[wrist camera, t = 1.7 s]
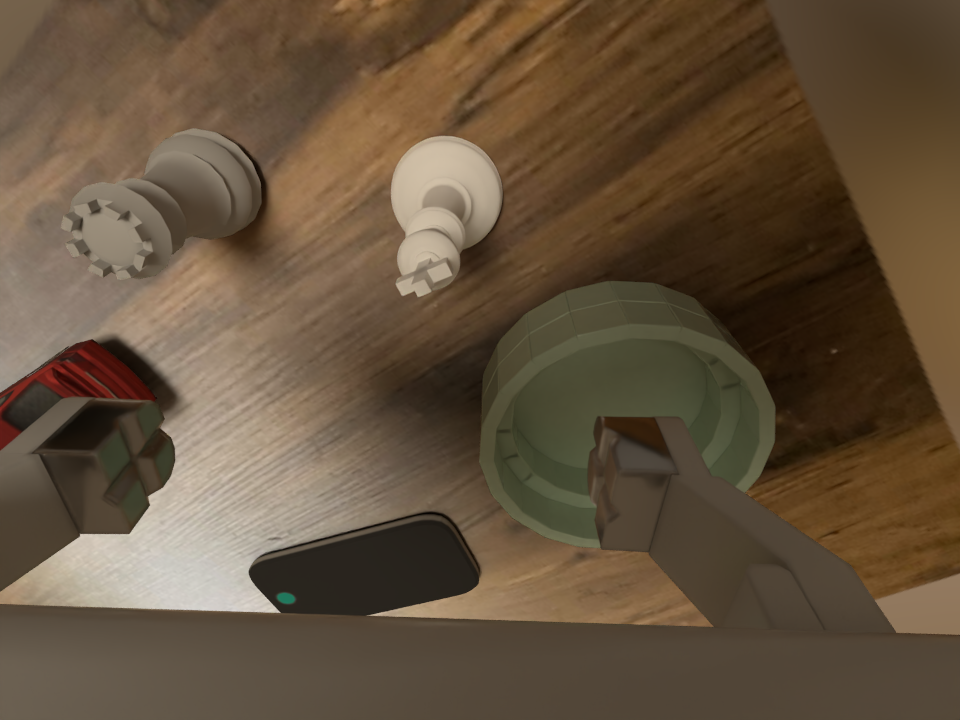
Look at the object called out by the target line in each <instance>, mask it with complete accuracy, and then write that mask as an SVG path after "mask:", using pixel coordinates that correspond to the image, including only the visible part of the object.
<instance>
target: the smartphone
mask: <svg viewBox="0 0 960 720" xmlns="http://www.w3.org/2000/svg"><path fill="white" fill-rule="evenodd" d="M249 576H250V578H251V580H252V582H253V583H254V584H255V586H256V587H257V588H258V589H259V590H260V591H261V592H262V593H263V594H264V595H265V597H266V598H267V599H268V600H269V601H270V602H271V603H272V604H273V605H274V606H275V607H276V608H277V609H278V610H279V611H280V612H281V613H295V614H326V615H357V616H367V615H371V614H376V613H380V612H385V611H389V610H394V609H398V608H403V607H407V606H412V605H416V604H421V603H425V602H430V601H434V600H439V599H443V598H448V597H452V596H457V595H461V594H464V593H467V592H469V591H471V590H472V589H473V588H475V587H476V586H477V585H478V583H479V570H478V567H477V565H476V563H475V561H474V560H473V558H472V556H471V554H470V553H469V551H468V549H467V548H466V546H465V544H464V543H463V541H462V539H461V537H460V536H459V534H458V532H457V531H456V529H455V528H454V526H453V525H452V524H451V523H450V522H449V521H448V520H447V519H446V518H444V517H442V516H441V515H435V514H423V515H417V516H413V517H409V518H405V519H402V520H398V521H394V522H390V523H386V524H382V525H379V526H375V527H371V528H367V529H363V530H359V531H355V532H352V533H348V534H344V535H340V536H336V537H332V538H328V539H325V540H321V541H317V542H313V543H309V544H305V545H301V546H298V547H294V548H290V549H286V550H282V551H278V552H274V553H271V554H267V555H264V556H262V557H260V558H258V559H256V560H255V561H254V562H253V564H252V565H251V567H250V569H249Z"/></svg>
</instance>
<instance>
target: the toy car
mask: <svg viewBox="0 0 960 720" xmlns="http://www.w3.org/2000/svg"><path fill="white" fill-rule="evenodd" d="M68 347H69V346H68ZM68 347H67V348H68ZM67 348H65V349H64V350H65V351H64V350H62V351H61V352H59V353H58V354H56V355H55V356H54V357H52V358H51V359H49V360H48V361H47V362H45V363H44V364H43V365H41V366H40V367H39V368H37V369H36V370H34V371H33V372H31V373H30V374H32V373H33V374H32V375H30V374H28V375H27V376H29V375H30V376H29V377H27V376H25V377H24V378H22V379H21V380H19V381H18V382H16V383H15V384H13V385H12V386H10V387H8V388H7V389H5V390H4V391H2V392H1V393H0V451H1V450H2V449H3V448H4V447H5V446H7V445H8V444H9V443H10V442H11V441H12V440H14V439H15V438H16V437H17V436H18V435H20V434H21V433H22V432H23V431H24V430H26V429H27V428H28V427H29V426H30V425H31V424H33V423H34V422H35V421H36V420H37V419H39V418H40V417H41V416H42V415H43V414H45V413H46V412H47V411H48V410H49V409H50V408H52V407H53V406H54V405H55V404H56V403H58V402H59V401H60V400H61V399H64V398H68V397H94V398H117V399H135V400H151V401H153V402H155V400H156V399H157V397H156V396H155V395H154V394H153V393H152V391H151V390H150V389H149V388H148V387H147V386H146V385H145V384H144V383H143V382H142V381H141V380H140V379H139V378H138V377H137V376H136V375H135V374H134V373H133V372H132V371H131V370H130V369H129V368H128V367H127V366H126V365H125V364H124V363H122V362H121V361H120V360H119V359H117V358H116V357H115V356H114V355H113V354H111V353H110V352H109V351H108V350H106V349H105V348H103V347H102V346H101V345H99V344H98V343H97V342H95V341H94V340H93V339H92V340H88V341H84V342H80V343H77V344H75V345H73V346H71V347H70V348H68V349H67ZM66 349H67V350H66ZM63 351H64V352H63ZM62 352H63V353H62ZM60 353H61V354H60ZM59 354H60V355H59ZM56 356H57V357H56ZM55 357H56V358H55ZM52 359H53V360H52ZM48 362H49V363H48ZM45 364H46V365H45ZM44 365H45V366H44ZM41 367H42V368H41ZM40 368H41V369H40ZM38 369H39V370H38ZM37 370H38V371H37ZM35 371H36V372H35ZM34 372H35V373H34ZM26 377H27V378H26Z"/></svg>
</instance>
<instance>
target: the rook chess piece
mask: <svg viewBox="0 0 960 720" xmlns="http://www.w3.org/2000/svg"><path fill="white" fill-rule="evenodd" d="M261 203H262V202H261V182H260V180H259V178H258V175H257V173H256V170H255V168H254V166H253V163H252V162H251V161H250V159H249V158H248V157H247V156H246V155H245V154H244V153H243V151H242V150H241V149H240V148H239V147H238V146H237V145H236V144H235V143H233V142H231V141H230V140H228V139H226V138H225V137H223V136H221V135H220V134H218V133H216V132H211V131H206V130H201V129H195V128H194V129H190V130H186V131H182V132H178V133H175V134H174V135H173V136H172V137H170V138H166V139H165V140H164V141H163V142H162V143H160V144H159V145H158V146H157V147H156V148H155V149H154V150H153V151H152V153H151V154H150V156H149V159H148V163H147V166H146V169H145V175H144V176H143V177H142V178H140V179H134V178H130V179H126V180H122V181H118V182H117V183H116V184H110V183H104V182H101V183H97V184H93V185H89V186H85V187H83V188H82V189H81V190H80V191H79V192H78V193H77V194H76V195H75V196H74V197H73V198H72V203H71V207H70V211H69V213H68V214H66V215H64V217H63V221H62V226H61V229H63V230H66V231H69V232H73V237H74V239H73V240H71V241H69V242H67V243H65V245H66V247H67V248H68V250H69V251H70V253H71V255H72V256H73V258H75V257H77V256H79V255H81V254H83V253H84V254H85V255H86V256H87V257H88V258H89V259H90V260H91V261H93V263H92V264H91V265H90V266H89V268H88V271H90V272H92V273H95V274H97V275H99V276H101V277H105V276H106V275H108V274H109V273H111V272H112V273H114V274H116V275H117V278H118V280H122V279H126V278H135V279H142V278H147V277H151V276H156V275H157V274H158V273H159V272H161V271H162V270H163V269H164V268H165V267H166V266H168V263H169V260H170V257H171V255H172V254H174V253H175V252H176V251H178V250H179V249H180V248H181V247H182V246H183V244H184V242H185V239H187V238H189V237H192V236H193V237H199V238H204V239H217V238H221V237H226V236H230V235H233V234H234V233H236V232H237V231H239V230H242V229H243V228H245V227H246V226H247V225H248V224H249V223H251V222H252V221H253V220H254V219H255V217H256V215H257V212H258V210H259V208H260V205H261Z"/></svg>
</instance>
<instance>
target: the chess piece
mask: <svg viewBox="0 0 960 720" xmlns="http://www.w3.org/2000/svg"><path fill="white" fill-rule="evenodd" d="M502 199H503V190H502V183H501V179H500V176H499V173H498V171H497V168H496V167H495V165H494V163H493V162H492V160H491V159H490V158H489V156H488V155H487V154H486V153H485V152H484V151H483V150H482V149H480V148H479V147H478V146H476V145H475V144H473V143H471V142H469V141H467V140H464V139H461V138H458V137H453V136H437V137H432V138H428V139H426V140H423V141H421V142H419V143H417V144H416V145H414V146H413V147H411V148H410V149H409V150H408V151H407V152H406V153H405V154H404V155H403V157H402V158H401V159H400V161H399V163H398V164H397V166H396V169H395V171H394V174H393V178H392V184H391V202H392V207H393V211H394V214H395V216H396V218H397V220H398V222H399V224H400V226H401V227H402V228H403V230H404V231H405V232H406V234H405V235H406V239H405V240H404V241H403V242H402V244H401V245H400V247H399V250H398V254H397V263H398V267H399V270H400V272H401V274H402V276H401V277H399V278H397V281H396V283H395V284H396V286H397V288H398V290H399V291H400V293H401V295H402V296H404V295H406V294H409V293H411V292H413V291H415V293H416V294H417V296H418V297H420V296H423V295H425V294H428V293H430V292H432V290H438V289H441V288H444V287H446V286H447V285H449V284H450V283H451V282H452V281H453V280H454V279H455V278H456V276H457V274H458V272H459V268H460V255H459V254H460V253H461V251H462V250H463V249H466V248H469V247H471V246H473V245H475V244H476V243H478V242H479V241H481V240H482V239H483V238H484V237H485V236H486V235H487V234H488V233H489V232H490V230H491V229H492V227H493V226H494V224H495V222H496V220H497V218H498V216H499V213H500V210H501V206H502Z"/></svg>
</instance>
